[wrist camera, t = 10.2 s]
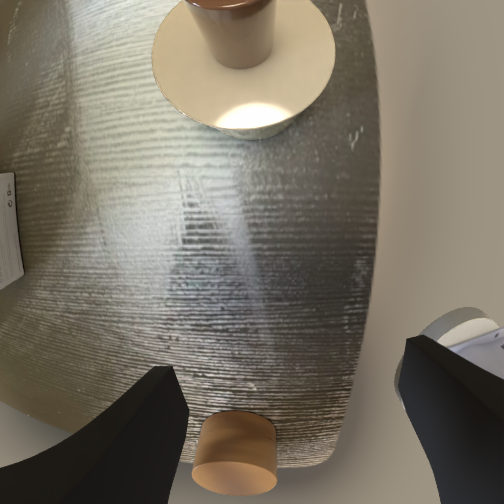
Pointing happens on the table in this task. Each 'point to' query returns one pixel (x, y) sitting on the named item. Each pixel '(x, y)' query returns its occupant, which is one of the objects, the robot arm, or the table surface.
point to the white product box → (9, 233)
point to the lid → (243, 60)
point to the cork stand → (236, 454)
